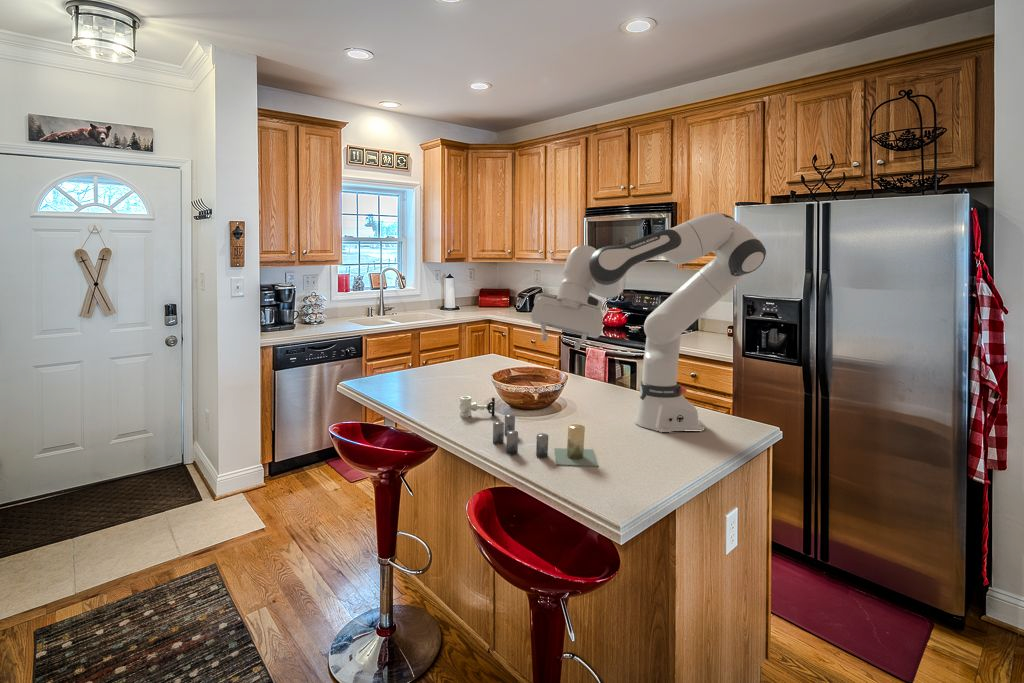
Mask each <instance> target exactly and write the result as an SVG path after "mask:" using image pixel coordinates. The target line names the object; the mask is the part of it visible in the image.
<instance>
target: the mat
mask: <svg viewBox="0 0 1024 683" xmlns="http://www.w3.org/2000/svg"><path fill="white" fill-rule="evenodd" d="M554 450H555V451H554ZM553 451H554V456H555V457H556V458H555V464H557V465H556V466H562V465H568V466H569V465H570V466H569V467H591V466H592V467H593V466H595V467H596V468H597V467H599V464H598V461H597V458H596V455H595V452H594V449H591V448H590V449H588V448H584V454H583V458H582V459H579V460H574V459H570V458H568V457H567V448H562V447H561V448H560V447H559V448H558V447H555V448H553ZM593 468H594V467H593Z"/></svg>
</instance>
